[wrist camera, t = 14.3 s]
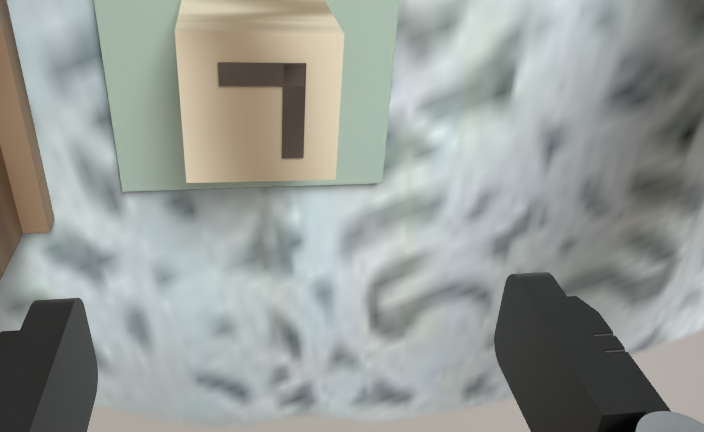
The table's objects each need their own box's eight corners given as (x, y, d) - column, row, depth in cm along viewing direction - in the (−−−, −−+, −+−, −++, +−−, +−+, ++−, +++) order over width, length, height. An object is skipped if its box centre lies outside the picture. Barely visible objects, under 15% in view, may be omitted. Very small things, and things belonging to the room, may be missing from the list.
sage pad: (404, -93, 23) (407, -91, 22) (379, 177, 28) (381, 183, 28) (80, -108, 21) (77, -106, 20) (123, 185, 27) (122, 191, 26)
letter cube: (322, -4, 23) (345, 35, 19) (317, 122, 26) (335, 181, 22) (183, -8, 22) (174, 32, 18) (192, 122, 25) (186, 184, 21)
